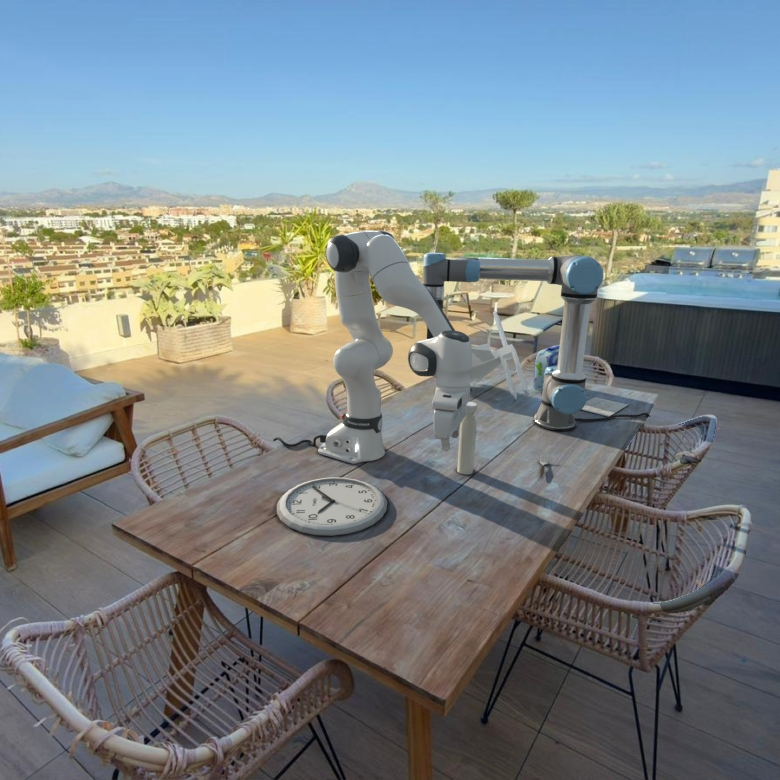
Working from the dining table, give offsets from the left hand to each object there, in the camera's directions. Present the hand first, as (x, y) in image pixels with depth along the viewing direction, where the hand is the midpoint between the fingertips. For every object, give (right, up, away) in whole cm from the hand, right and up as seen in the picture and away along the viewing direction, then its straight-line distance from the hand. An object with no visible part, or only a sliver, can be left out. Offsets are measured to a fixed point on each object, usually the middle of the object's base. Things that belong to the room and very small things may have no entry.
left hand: (450, 443), depth 140 cm
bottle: (+8, -11, +25) cm, 28 cm away
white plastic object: (+26, +13, +103) cm, 107 cm away
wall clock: (-32, -17, +3) cm, 36 cm away
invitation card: (+75, +7, +86) cm, 115 cm away
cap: (+8, +10, +18) cm, 22 cm away
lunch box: (+62, +15, +110) cm, 127 cm away
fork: (+33, -11, +27) cm, 43 cm away
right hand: (-2, +26, +50) cm, 56 cm away
